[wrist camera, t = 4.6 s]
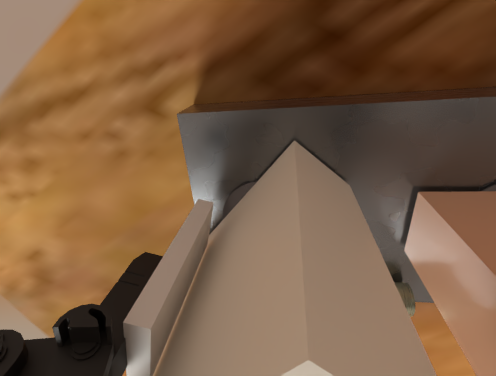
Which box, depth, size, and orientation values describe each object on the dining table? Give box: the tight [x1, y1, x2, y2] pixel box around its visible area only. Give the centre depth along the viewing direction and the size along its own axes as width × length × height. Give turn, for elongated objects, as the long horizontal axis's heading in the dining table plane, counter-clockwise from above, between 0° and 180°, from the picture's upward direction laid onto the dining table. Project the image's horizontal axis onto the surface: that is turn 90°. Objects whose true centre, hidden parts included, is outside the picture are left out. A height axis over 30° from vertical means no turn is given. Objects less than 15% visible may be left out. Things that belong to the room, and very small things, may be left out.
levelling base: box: [177, 87, 496, 317], centre depth 14 cm, size 20×12×4 cm, turn 95°
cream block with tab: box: [153, 140, 437, 376], centre depth 10 cm, size 9×4×11 cm, turn 143°
